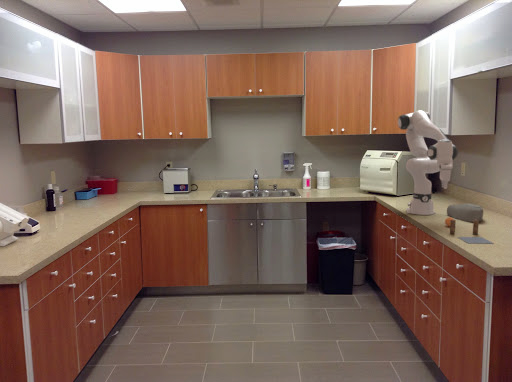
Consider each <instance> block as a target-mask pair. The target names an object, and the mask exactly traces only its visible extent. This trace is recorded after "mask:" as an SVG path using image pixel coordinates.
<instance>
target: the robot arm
mask: <svg viewBox="0 0 512 382" xmlns="http://www.w3.org/2000/svg"><path fill="white" fill-rule="evenodd" d="M397 126H398V128H399V129H400V130H404V131H405V130H406V131H405V138H406V141H407V142H406V143H407V146H408V148H409V151H410V154H411V155H412V156H414V157H413V158H410V159H408V160H406V163H405V169H406V171H407V172H408V173H409V174H410V175H411V176H412V179H413V183H414V185H413V186H414V187H413V188H414V190H413V194H412V199H411V200H410V201H409V202H408V203H407V206H408V208H405V211H406V212H407V214H413V215H419V216H420V215H421V216H430V215H434V214H436V211H434V201H433V200H432V198H433V195H432V187H433V186H432V181H431V180H429V179H428V178H427V176H426V174H434V173H438V172H439V180H440V181H441V188H443V189H444V190H447V189H448V184H449V182H450V181H451V174H452V170H453V167H454V166H453V165H454V163H453V162H454V160H455V159H456V158H457V157H458V154H459V150H458V148H457V146H456V145H455V144H453V142H452V140H450V139H449V137H447V135H446V134H445V133H444V132H443V130H442V129H440V128H439V127H438V126H436V125H435V123H433V122H432V121H431V116H430V113H429V112H428V111H423V110H421V109H420V110H416V111H413V112H410V113H406V114H401V115H400V116H398V117H397ZM425 138H429V139H433V140H435V141H437V142H436V143H435V144H433V145H430V146H429V147H428V146H427V144H426V142H425Z"/></svg>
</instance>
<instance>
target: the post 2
mask: <svg viewBox="0 0 512 382" xmlns="http://www.w3.org/2000/svg"><path fill="white" fill-rule="evenodd" d="M472 223H473V224H472V235H475V236H477V235H478V234H479V224H480V223H479V220H474V221H473V222H472Z"/></svg>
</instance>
